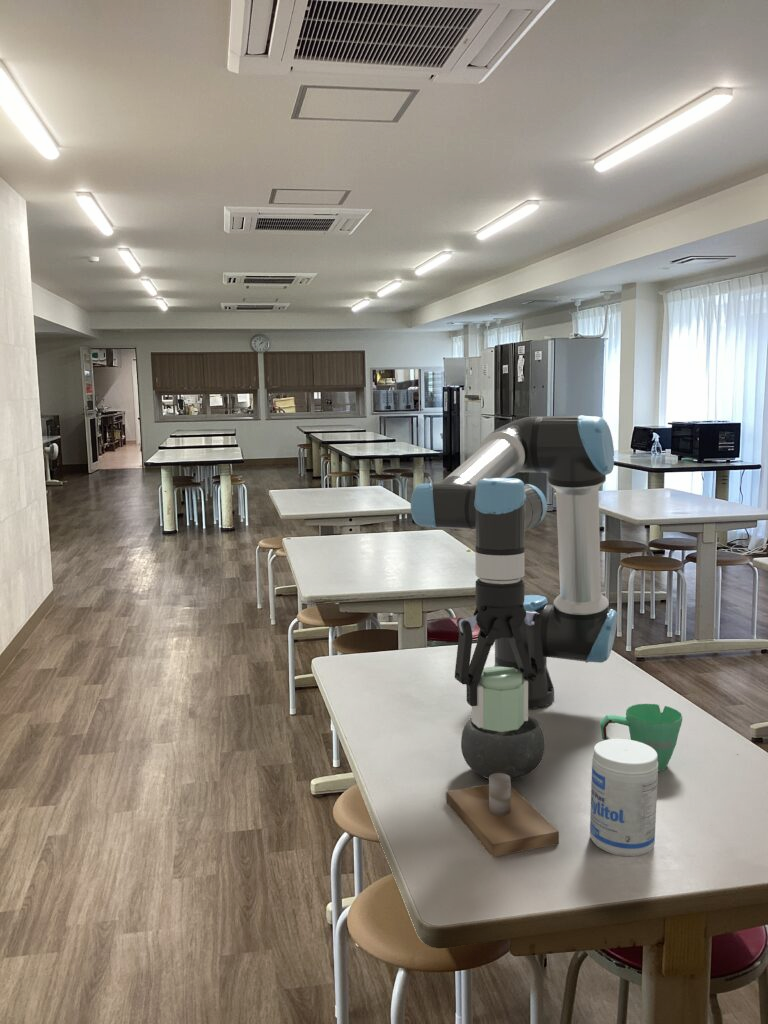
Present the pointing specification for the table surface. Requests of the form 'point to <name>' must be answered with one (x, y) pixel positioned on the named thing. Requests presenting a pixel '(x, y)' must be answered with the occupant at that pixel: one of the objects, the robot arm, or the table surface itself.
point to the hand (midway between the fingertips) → (499, 721)
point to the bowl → (503, 749)
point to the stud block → (501, 817)
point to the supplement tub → (623, 797)
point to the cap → (502, 698)
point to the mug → (650, 728)
